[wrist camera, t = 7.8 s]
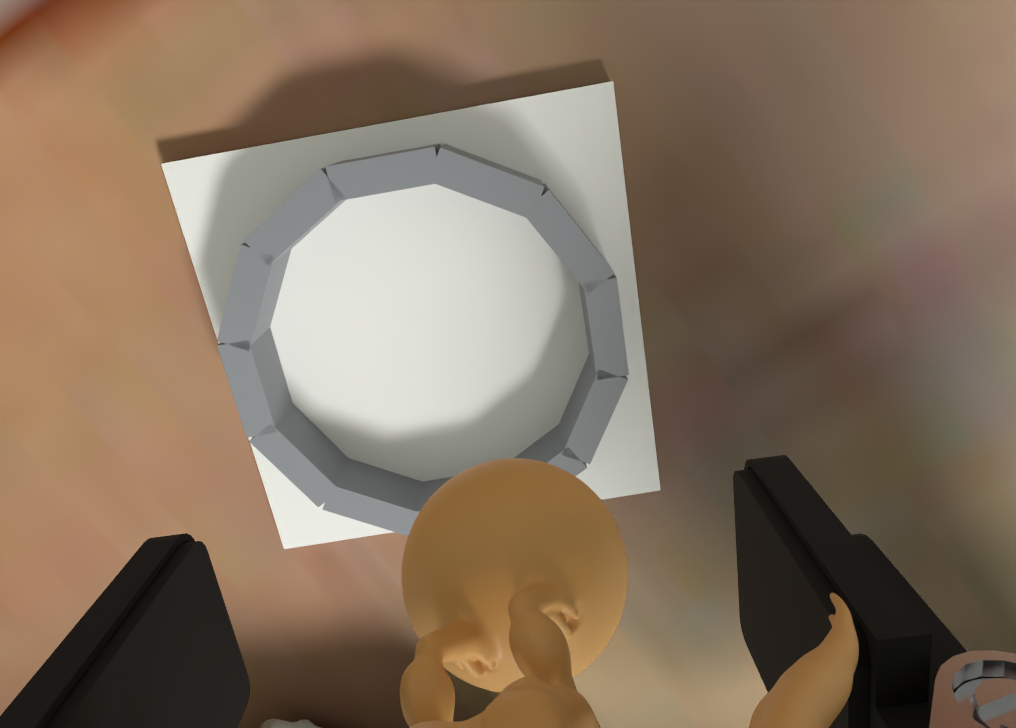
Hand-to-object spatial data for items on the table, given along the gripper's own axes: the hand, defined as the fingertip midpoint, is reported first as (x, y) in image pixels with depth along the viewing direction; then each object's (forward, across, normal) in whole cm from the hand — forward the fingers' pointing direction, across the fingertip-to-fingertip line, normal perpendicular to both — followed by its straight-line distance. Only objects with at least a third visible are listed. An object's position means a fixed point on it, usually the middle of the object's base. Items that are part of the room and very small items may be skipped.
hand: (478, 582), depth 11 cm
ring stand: (+20, +3, +2) cm, 20 cm away
